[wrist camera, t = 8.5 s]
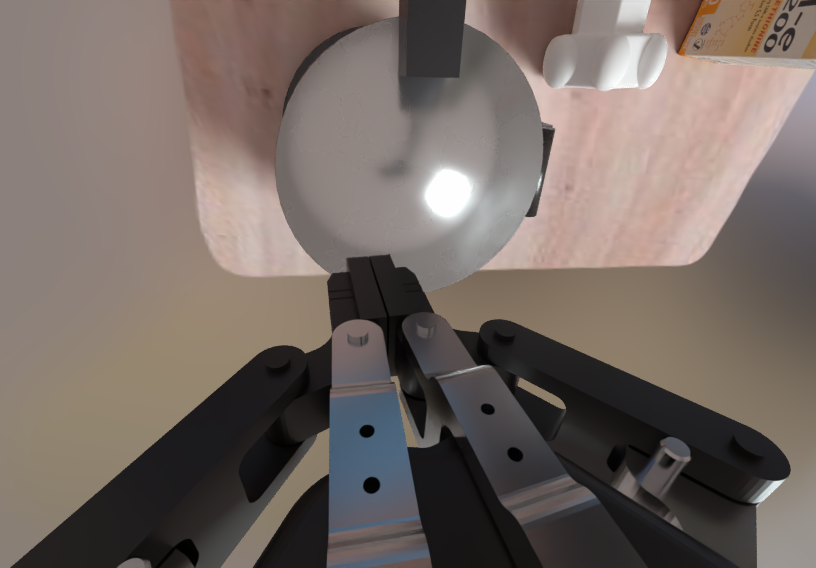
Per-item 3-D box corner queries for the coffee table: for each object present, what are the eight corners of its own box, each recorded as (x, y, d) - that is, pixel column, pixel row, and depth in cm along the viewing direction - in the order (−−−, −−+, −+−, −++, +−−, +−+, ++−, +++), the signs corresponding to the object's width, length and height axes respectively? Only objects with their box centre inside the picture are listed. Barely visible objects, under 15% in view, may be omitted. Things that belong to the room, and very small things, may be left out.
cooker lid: (220, -199, 13) (202, -253, 11) (602, -136, 16) (653, -167, 14) (295, 296, 24) (295, 323, 21) (516, 273, 27) (537, 295, 24)
